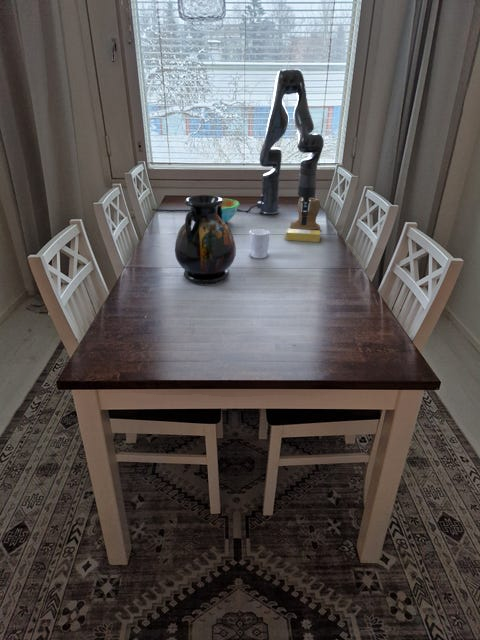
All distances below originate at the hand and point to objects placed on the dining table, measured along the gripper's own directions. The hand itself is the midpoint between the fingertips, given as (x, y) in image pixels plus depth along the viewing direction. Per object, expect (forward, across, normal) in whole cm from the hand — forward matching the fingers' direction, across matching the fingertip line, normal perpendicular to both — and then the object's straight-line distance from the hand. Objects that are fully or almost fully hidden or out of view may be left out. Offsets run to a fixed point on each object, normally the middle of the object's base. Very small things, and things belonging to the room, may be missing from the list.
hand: (304, 222), depth 184 cm
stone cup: (+8, -16, 0) cm, 18 cm away
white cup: (+8, +25, -17) cm, 31 cm away
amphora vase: (+8, +50, -33) cm, 60 cm away
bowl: (+8, -18, -44) cm, 48 cm away
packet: (+8, 0, 0) cm, 8 cm away
